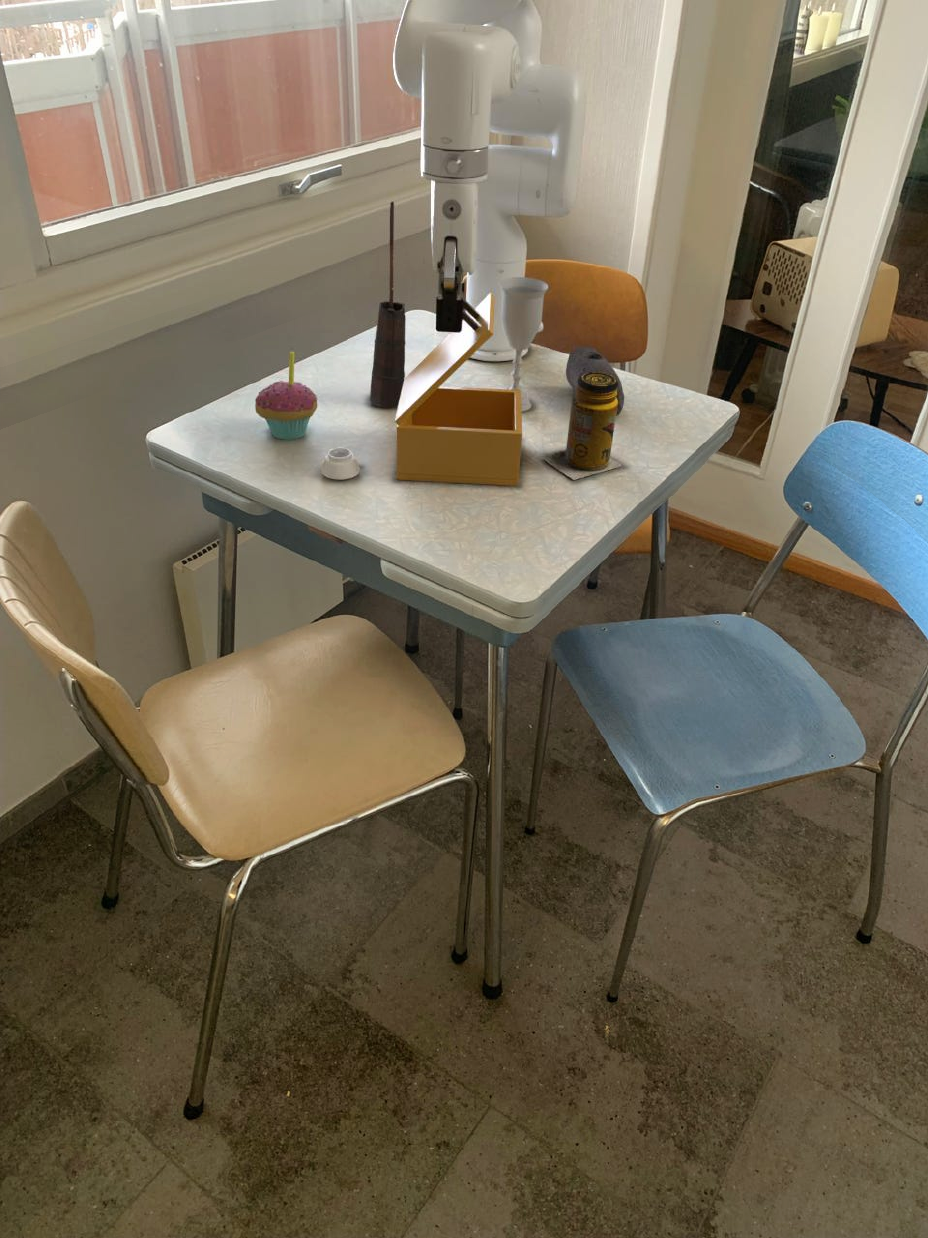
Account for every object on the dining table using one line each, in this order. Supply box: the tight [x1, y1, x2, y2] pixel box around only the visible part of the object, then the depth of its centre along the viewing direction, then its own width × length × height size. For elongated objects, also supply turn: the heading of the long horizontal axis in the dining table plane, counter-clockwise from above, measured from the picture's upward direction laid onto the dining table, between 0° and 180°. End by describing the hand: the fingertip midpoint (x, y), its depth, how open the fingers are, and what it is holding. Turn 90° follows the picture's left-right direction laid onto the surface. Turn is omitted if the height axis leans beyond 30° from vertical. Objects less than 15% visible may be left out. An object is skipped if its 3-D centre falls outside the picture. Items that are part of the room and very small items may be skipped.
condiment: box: [540, 372, 623, 481], centre depth 122 cm, size 7×8×12 cm
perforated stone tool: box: [565, 346, 625, 417], centre depth 139 cm, size 15×5×7 cm, turn 18°
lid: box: [394, 290, 495, 425], centre depth 116 cm, size 17×14×5 cm
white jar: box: [320, 447, 361, 481], centre depth 119 cm, size 5×3×5 cm
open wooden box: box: [396, 385, 523, 487], centre depth 123 cm, size 16×14×7 cm
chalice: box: [500, 276, 549, 412], centre depth 134 cm, size 7×7×18 cm
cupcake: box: [254, 345, 318, 441], centre depth 125 cm, size 9×8×12 cm
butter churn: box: [369, 201, 406, 409], centre depth 130 cm, size 9×10×28 cm
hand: (449, 321), depth 114 cm, fingers closed on lid, 5 cm apart
